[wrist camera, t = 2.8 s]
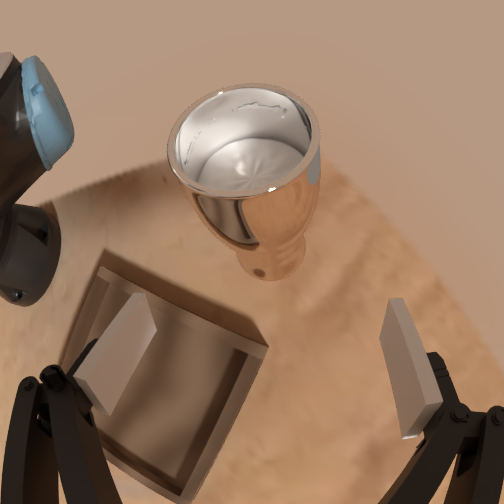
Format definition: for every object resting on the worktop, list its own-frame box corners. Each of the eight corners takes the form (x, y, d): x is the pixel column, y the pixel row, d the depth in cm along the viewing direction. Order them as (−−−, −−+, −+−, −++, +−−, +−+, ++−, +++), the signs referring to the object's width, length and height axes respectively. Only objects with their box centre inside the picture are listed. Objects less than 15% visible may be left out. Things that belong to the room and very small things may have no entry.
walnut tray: (61, 407, 27) (49, 409, 25) (112, 271, 32) (100, 265, 30) (194, 499, 22) (186, 508, 20) (268, 346, 27) (266, 347, 25)
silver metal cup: (286, 301, 24) (275, 234, 10) (216, 263, 26) (132, 168, 12) (324, 231, 25) (348, 105, 11) (256, 199, 27) (219, 70, 13)
